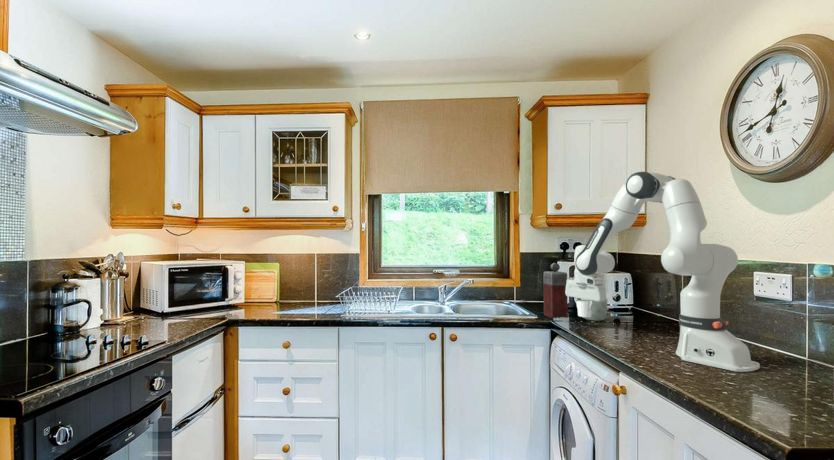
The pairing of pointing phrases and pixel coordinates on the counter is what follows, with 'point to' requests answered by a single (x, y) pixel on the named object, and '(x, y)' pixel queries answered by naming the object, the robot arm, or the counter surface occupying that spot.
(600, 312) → the planter
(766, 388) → the counter surface
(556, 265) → the red decanter
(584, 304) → the shot glass
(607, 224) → the robot arm
